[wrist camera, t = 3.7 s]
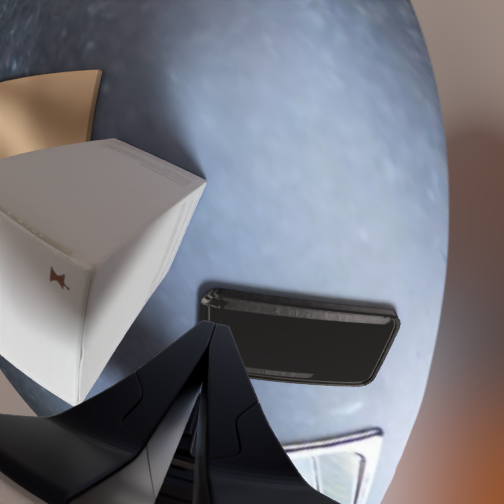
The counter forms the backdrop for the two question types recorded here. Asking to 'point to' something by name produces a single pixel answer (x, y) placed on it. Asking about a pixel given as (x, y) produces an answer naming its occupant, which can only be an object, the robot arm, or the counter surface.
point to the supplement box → (83, 253)
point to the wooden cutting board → (47, 111)
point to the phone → (303, 337)
